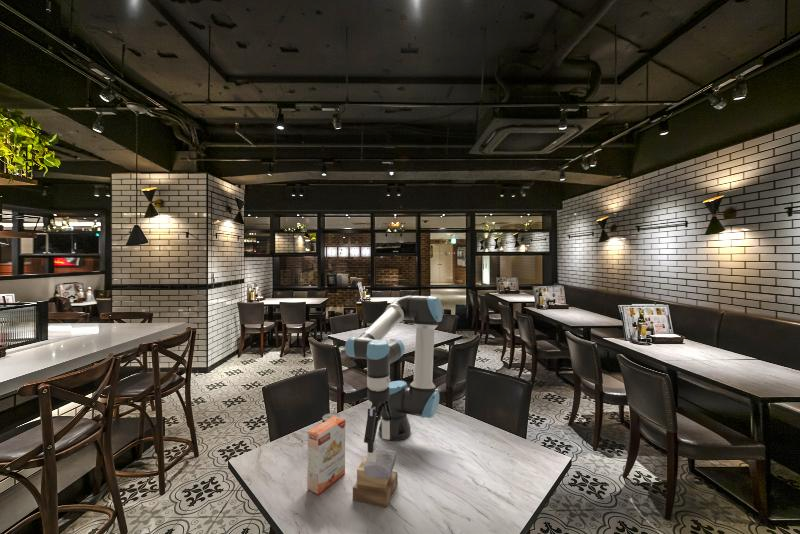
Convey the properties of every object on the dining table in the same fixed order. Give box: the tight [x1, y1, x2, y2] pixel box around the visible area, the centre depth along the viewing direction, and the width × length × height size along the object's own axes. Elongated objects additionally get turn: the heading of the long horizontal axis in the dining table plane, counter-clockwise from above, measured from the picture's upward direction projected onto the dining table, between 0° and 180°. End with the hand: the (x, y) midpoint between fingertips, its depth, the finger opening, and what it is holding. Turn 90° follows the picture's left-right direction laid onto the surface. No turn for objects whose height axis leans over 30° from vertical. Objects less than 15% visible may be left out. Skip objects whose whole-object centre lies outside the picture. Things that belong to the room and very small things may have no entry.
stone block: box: [364, 448, 397, 479], centre depth 112 cm, size 12×5×10 cm
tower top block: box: [356, 455, 390, 489], centre depth 114 cm, size 8×10×5 cm
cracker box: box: [306, 416, 346, 495], centre depth 119 cm, size 14×6×21 cm, turn 148°
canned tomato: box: [321, 412, 341, 423], centre depth 146 cm, size 8×8×11 cm
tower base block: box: [352, 470, 399, 509], centre depth 113 cm, size 12×12×5 cm
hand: (379, 449), depth 111 cm, fingers open, 13 cm apart
